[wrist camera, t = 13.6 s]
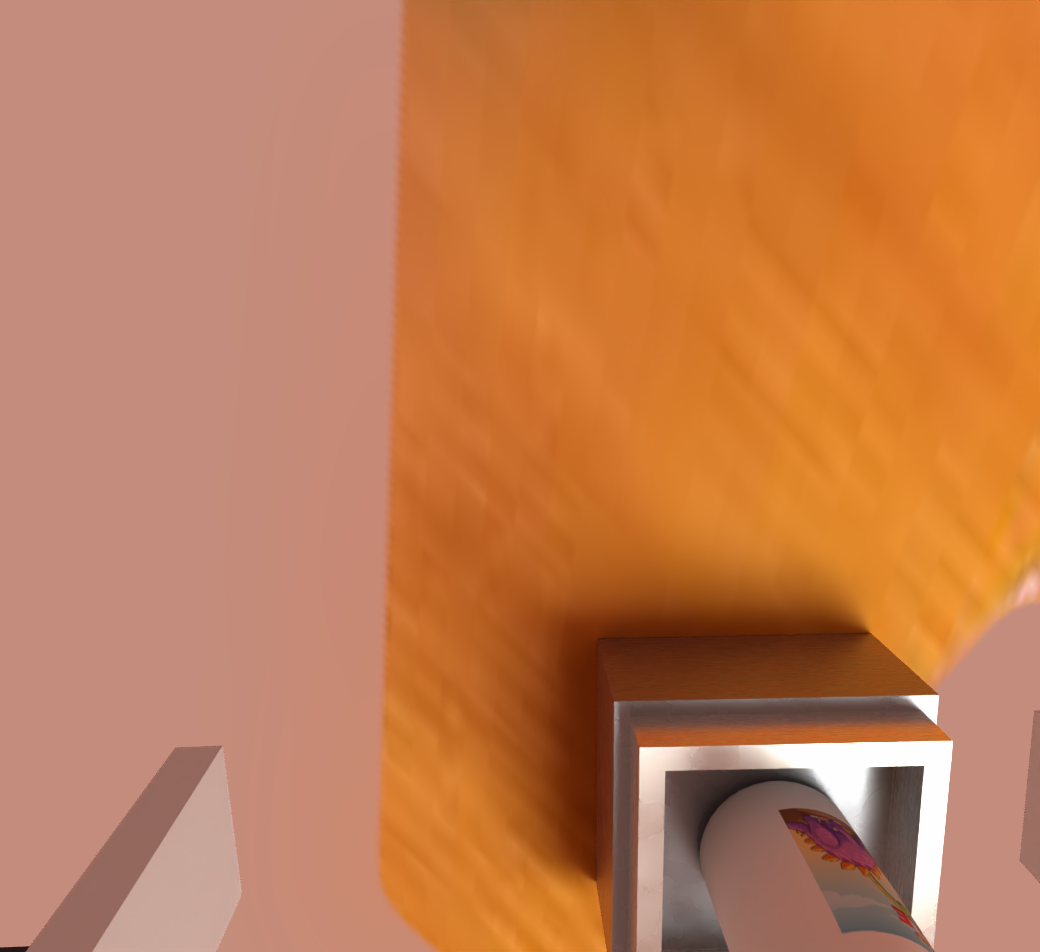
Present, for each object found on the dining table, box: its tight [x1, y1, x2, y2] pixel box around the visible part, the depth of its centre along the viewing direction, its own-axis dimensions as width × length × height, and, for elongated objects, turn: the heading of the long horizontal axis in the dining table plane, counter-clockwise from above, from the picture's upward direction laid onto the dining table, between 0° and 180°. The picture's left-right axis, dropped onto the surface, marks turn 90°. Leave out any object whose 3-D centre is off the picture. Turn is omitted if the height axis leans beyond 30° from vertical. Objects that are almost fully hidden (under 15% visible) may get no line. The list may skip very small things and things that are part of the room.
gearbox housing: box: [596, 633, 953, 952], centre depth 46 cm, size 17×16×11 cm
